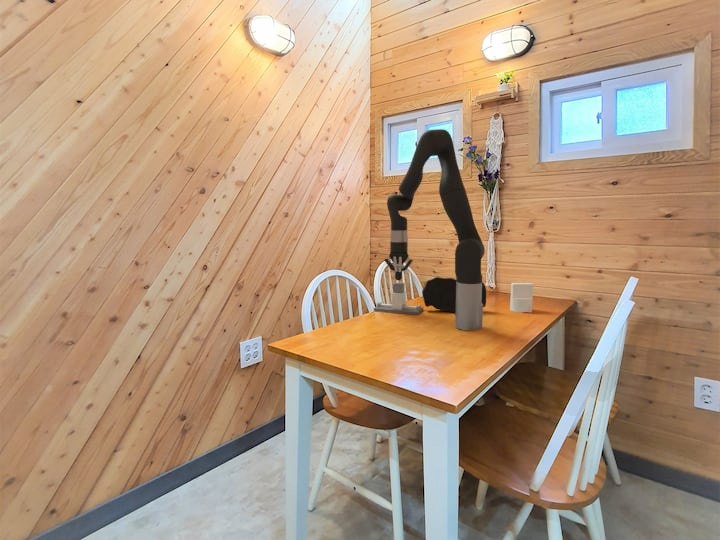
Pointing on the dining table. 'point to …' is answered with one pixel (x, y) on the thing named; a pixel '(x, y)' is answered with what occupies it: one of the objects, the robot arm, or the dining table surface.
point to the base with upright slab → (521, 297)
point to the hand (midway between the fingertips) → (398, 280)
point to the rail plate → (405, 310)
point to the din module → (398, 296)
